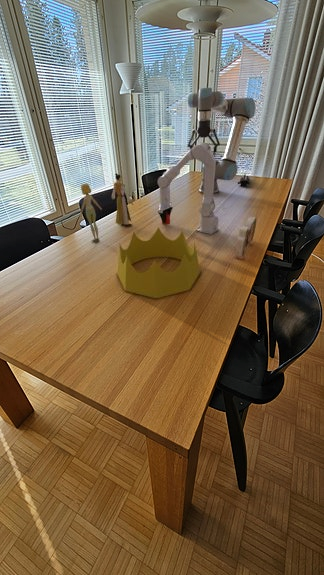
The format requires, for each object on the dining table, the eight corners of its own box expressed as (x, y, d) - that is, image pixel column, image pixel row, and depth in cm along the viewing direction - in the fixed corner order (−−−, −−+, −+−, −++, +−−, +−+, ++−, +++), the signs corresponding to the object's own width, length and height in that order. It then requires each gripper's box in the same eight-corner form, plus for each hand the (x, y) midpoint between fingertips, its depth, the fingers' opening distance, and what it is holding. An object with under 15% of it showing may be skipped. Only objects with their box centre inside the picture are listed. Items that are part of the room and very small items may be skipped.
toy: (240, 179, 245) (237, 186, 221) (241, 173, 242) (238, 180, 219) (251, 179, 242) (249, 186, 218) (251, 174, 240) (249, 180, 216)
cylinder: (171, 222, 160) (170, 214, 157) (168, 225, 156) (168, 216, 153) (163, 221, 161) (162, 213, 158) (160, 224, 157) (160, 216, 155)
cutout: (244, 233, 111) (258, 210, 128) (237, 232, 113) (252, 210, 129) (240, 263, 121) (254, 238, 137) (234, 262, 122) (248, 237, 138)
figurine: (140, 227, 158) (135, 173, 141) (129, 231, 153) (122, 176, 136) (119, 219, 169) (112, 169, 152) (109, 224, 164) (100, 172, 147)
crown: (123, 254, 130) (119, 225, 122) (197, 252, 128) (198, 223, 120) (109, 299, 101) (102, 265, 92) (204, 297, 99) (206, 262, 90)
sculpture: (103, 236, 150) (93, 180, 132) (108, 238, 147) (98, 181, 130) (83, 243, 142) (70, 186, 125) (88, 246, 140) (75, 187, 122)
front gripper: (163, 194, 157) (164, 216, 165) (153, 201, 146) (154, 224, 154) (174, 194, 154) (175, 217, 162) (165, 202, 144) (166, 226, 151)
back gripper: (183, 121, 158) (183, 160, 170) (226, 119, 154) (223, 158, 167) (184, 120, 164) (184, 157, 176) (225, 118, 160) (222, 156, 173)
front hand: (165, 221), depth 158 cm, fingers closed on cylinder, 5 cm apart
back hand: (203, 158), depth 171 cm, fingers open, 13 cm apart
